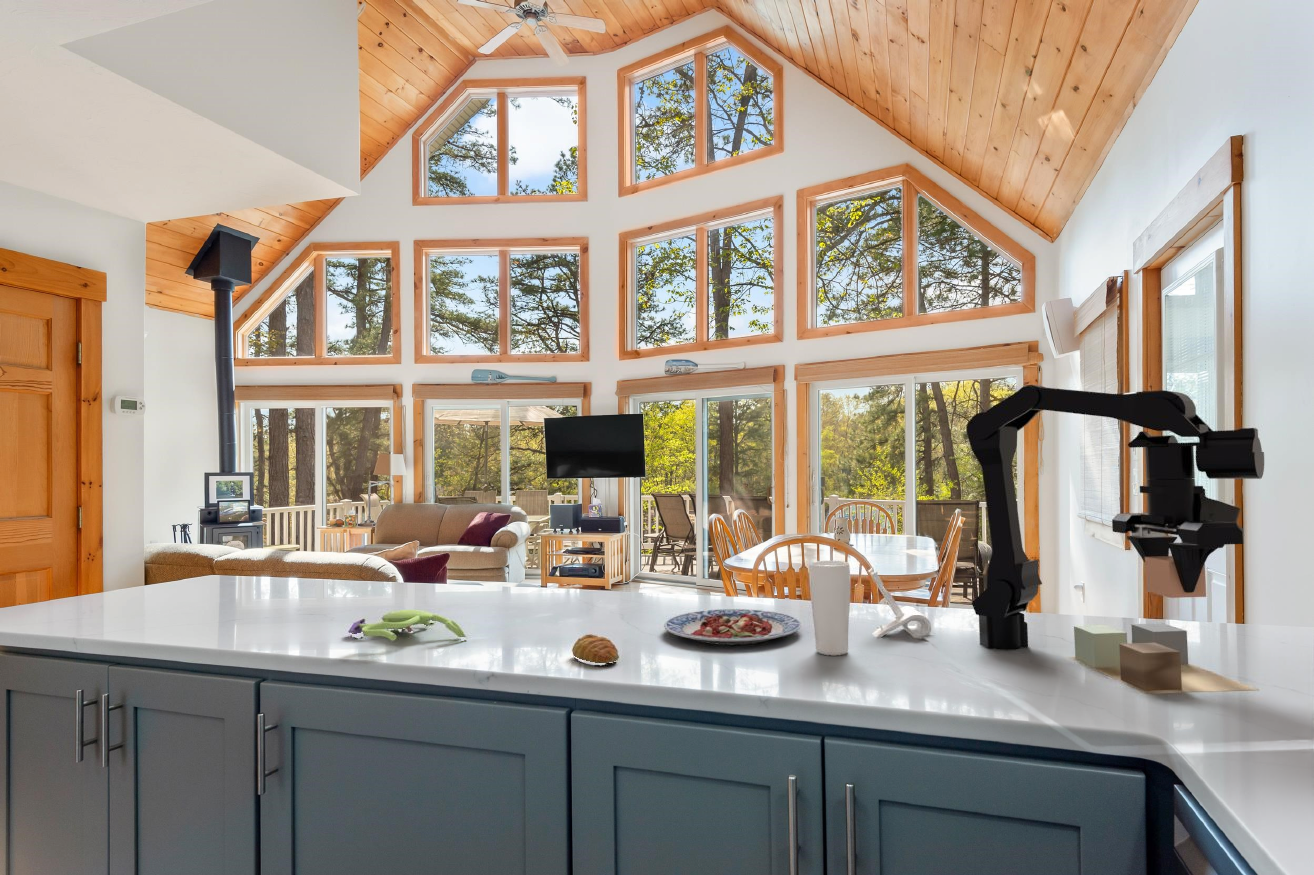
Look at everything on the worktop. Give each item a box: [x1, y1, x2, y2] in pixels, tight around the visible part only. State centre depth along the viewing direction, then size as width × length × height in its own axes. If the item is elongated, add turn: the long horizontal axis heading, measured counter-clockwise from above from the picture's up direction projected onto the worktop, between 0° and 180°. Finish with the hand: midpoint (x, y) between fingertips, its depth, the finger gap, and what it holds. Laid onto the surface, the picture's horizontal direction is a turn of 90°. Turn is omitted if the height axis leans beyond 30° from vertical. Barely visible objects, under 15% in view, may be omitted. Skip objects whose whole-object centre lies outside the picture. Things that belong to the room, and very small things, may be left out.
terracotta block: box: [1144, 555, 1207, 599], centre depth 105 cm, size 5×5×5 cm
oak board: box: [1068, 656, 1259, 695], centre depth 107 cm, size 15×18×1 cm
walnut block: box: [1119, 642, 1182, 691], centre depth 102 cm, size 5×5×5 cm
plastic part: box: [867, 567, 932, 639], centre depth 138 cm, size 8×10×12 cm
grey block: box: [1130, 622, 1189, 665], centre depth 113 cm, size 5×5×5 cm
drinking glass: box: [808, 560, 851, 657], centre depth 126 cm, size 7×7×15 cm
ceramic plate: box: [663, 608, 802, 645], centre depth 141 cm, size 26×26×3 cm
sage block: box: [1073, 624, 1128, 668], centre depth 113 cm, size 5×5×5 cm
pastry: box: [571, 633, 620, 663], centre depth 124 cm, size 9×7×4 cm
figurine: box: [347, 609, 467, 642], centre depth 144 cm, size 18×27×6 cm
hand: (1175, 589), depth 105 cm, fingers closed on terracotta block, 5 cm apart
